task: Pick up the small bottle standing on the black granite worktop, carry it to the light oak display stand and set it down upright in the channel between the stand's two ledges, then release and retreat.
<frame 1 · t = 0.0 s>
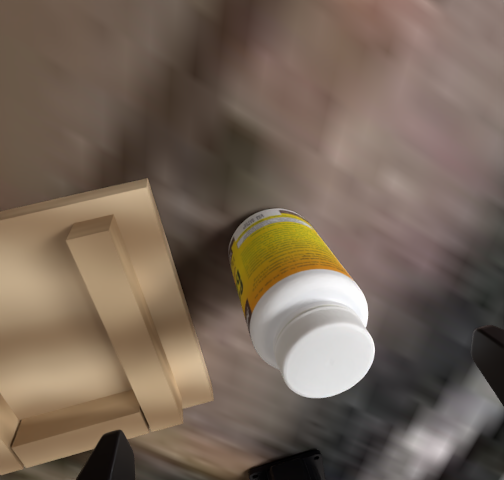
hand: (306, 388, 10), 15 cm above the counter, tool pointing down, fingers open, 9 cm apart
stand: (56, 328, 24), on the counter
supplement bottle: (269, 245, 25), on the counter
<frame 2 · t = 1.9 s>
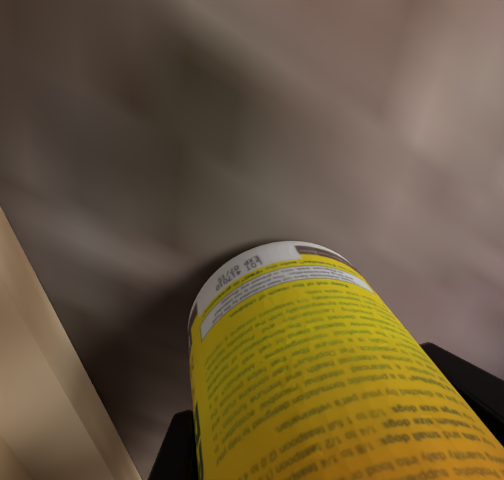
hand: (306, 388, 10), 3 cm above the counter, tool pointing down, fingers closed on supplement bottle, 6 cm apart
supplement bottle: (274, 309, 13), on the counter, touching gripper
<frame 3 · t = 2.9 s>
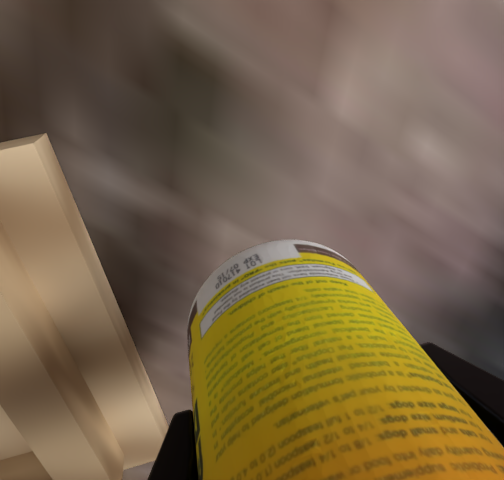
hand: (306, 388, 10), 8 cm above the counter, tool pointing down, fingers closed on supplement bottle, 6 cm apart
supplement bottle: (273, 308, 13), point 5 cm above the counter, touching gripper
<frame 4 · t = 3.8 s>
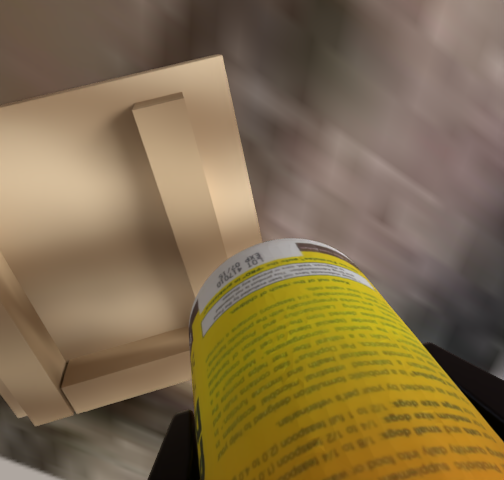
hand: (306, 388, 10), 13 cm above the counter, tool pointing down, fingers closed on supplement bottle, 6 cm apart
stand: (107, 252, 21), on the counter
supplement bottle: (275, 307, 13), point 10 cm above the counter, touching gripper
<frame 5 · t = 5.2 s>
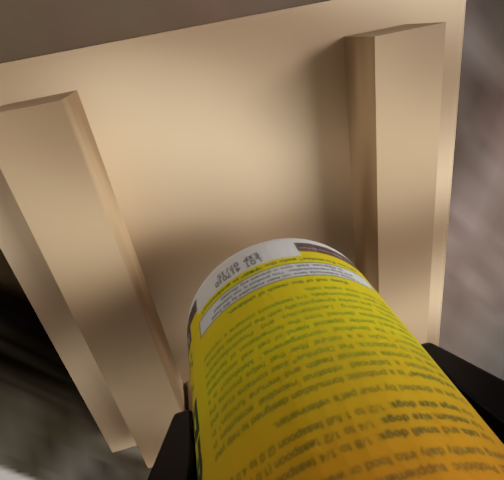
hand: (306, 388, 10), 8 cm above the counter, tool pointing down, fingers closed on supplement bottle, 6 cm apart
stand: (246, 244, 16), on the counter
supplement bottle: (274, 307, 13), point 4 cm above the counter, touching gripper
when the fingers open (6 cm above the counter, at t = 6.0 s): supplement bottle drops 1 cm, resting on stand.
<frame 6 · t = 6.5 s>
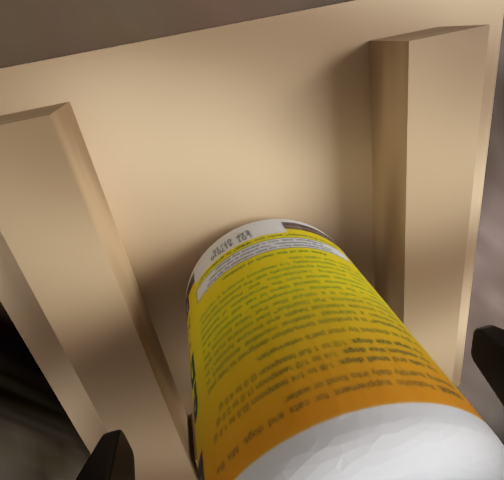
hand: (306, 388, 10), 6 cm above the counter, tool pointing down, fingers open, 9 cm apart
stand: (256, 265, 15), on the counter
supplement bottle: (265, 283, 14), point 1 cm above the counter, touching stand
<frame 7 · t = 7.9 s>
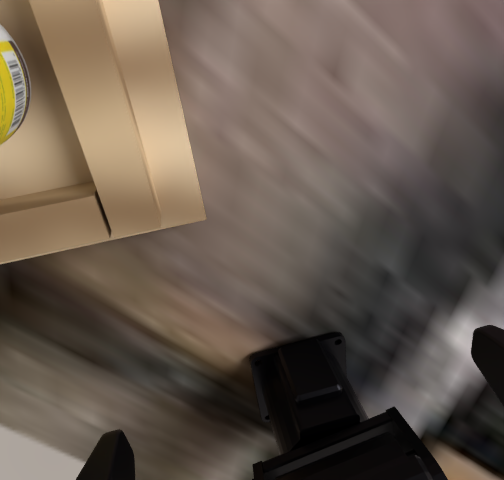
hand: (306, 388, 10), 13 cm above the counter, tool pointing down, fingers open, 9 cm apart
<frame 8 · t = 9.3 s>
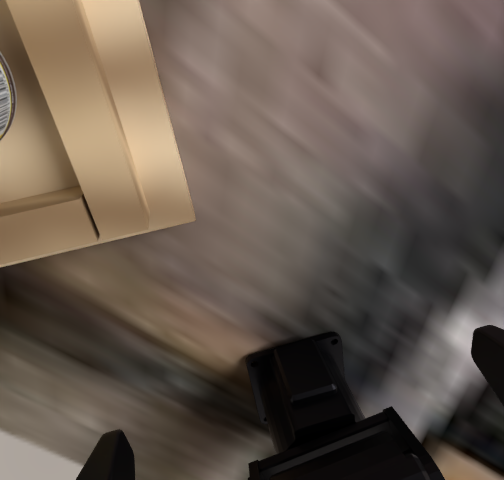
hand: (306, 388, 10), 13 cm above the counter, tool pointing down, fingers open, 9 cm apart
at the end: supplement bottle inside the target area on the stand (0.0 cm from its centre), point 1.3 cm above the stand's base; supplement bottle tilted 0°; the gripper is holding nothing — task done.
